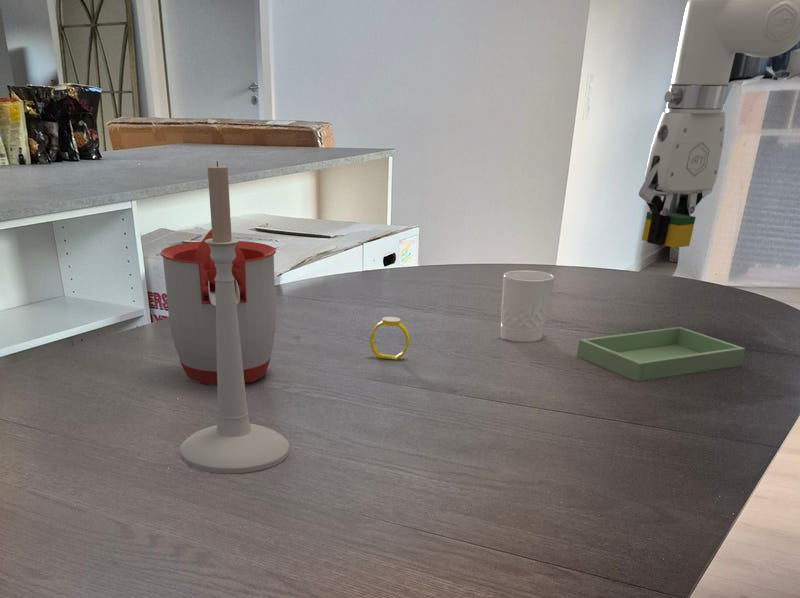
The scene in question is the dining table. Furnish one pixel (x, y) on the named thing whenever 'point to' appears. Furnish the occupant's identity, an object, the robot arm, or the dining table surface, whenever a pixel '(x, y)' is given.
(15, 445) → the dining table surface
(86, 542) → the dining table surface
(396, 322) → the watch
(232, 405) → the candlestick
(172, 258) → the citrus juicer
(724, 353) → the tray
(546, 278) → the white cup
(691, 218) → the sponge
